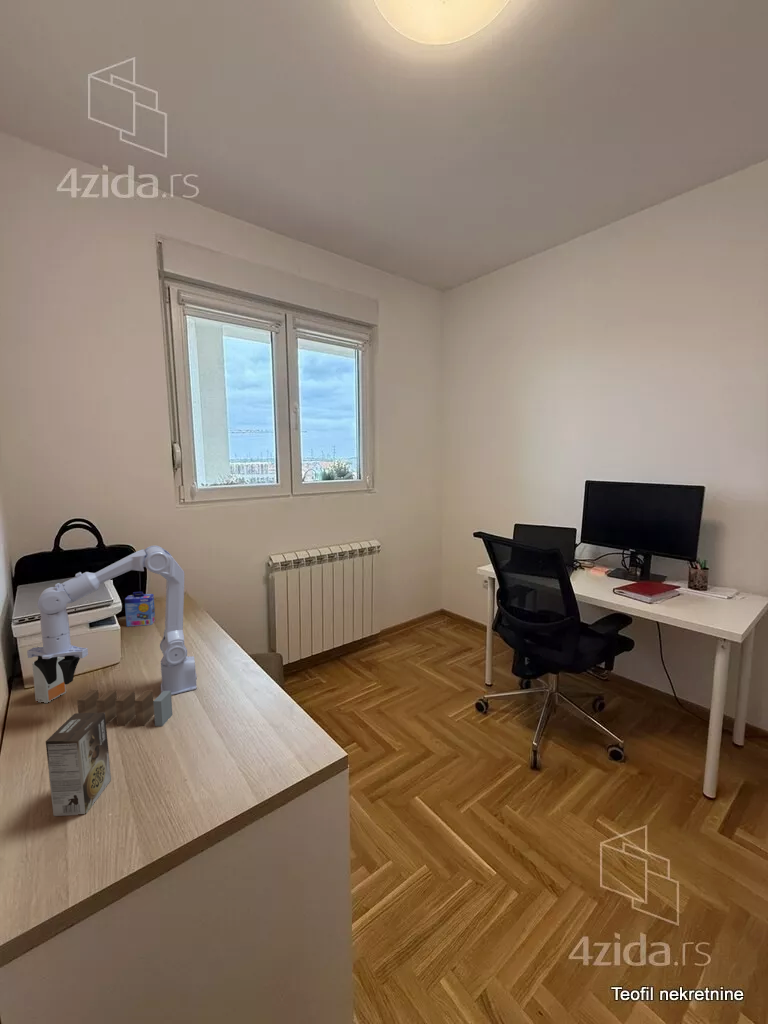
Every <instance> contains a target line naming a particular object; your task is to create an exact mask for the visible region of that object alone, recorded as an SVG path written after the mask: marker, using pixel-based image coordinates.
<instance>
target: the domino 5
mask: <svg viewBox="0 0 768 1024" xmlns="http://www.w3.org/2000/svg"><path fill="white" fill-rule="evenodd" d="M153 703H154V715H153V717H154V726H155V727H164V725H165V724H166V723H167V722H168V721H169V720H168V719H170V718H171V717H172V716H173V701H172V695H171V691H163V692H162V693H161V692H160V694H159V695H158V696H157V697H156V698H155V699H153Z"/></svg>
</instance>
